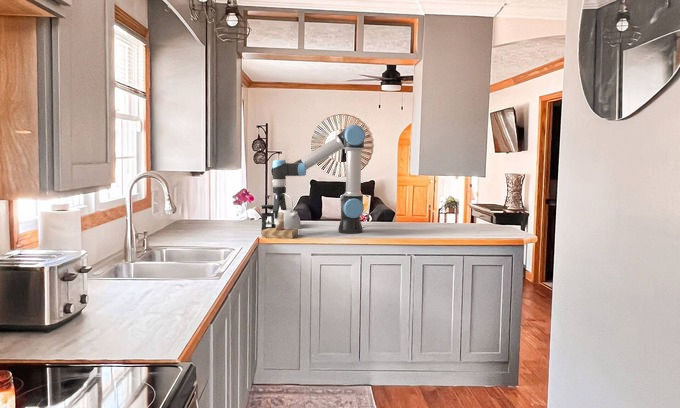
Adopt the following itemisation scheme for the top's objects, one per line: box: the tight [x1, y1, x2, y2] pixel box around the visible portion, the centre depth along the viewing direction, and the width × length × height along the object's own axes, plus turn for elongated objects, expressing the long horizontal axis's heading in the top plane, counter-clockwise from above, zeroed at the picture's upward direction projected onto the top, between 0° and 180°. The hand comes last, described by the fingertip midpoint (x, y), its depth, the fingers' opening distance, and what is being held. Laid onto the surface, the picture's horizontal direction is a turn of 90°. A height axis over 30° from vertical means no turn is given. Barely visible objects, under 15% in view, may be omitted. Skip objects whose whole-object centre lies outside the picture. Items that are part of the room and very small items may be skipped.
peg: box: [276, 212, 284, 231], centre depth 327 cm, size 5×5×14 cm
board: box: [261, 228, 299, 240], centre depth 327 cm, size 18×14×4 cm
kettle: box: [266, 193, 302, 230], centre depth 364 cm, size 25×23×23 cm
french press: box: [260, 194, 276, 235], centre depth 339 cm, size 12×9×23 cm
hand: (279, 222), depth 327 cm, fingers open, 13 cm apart
